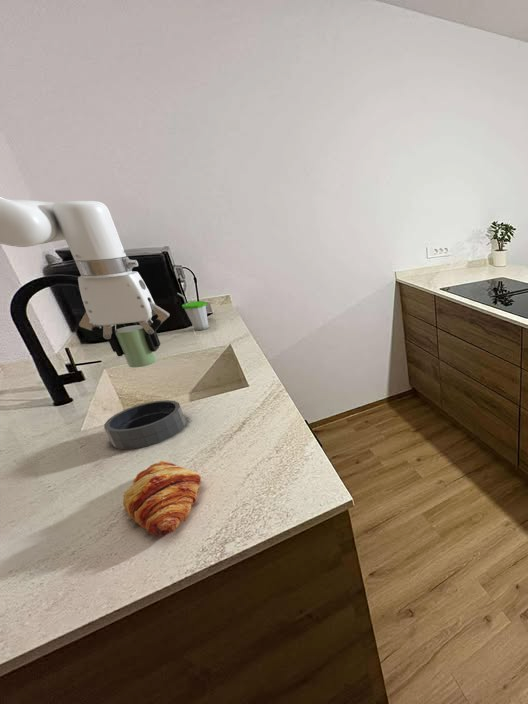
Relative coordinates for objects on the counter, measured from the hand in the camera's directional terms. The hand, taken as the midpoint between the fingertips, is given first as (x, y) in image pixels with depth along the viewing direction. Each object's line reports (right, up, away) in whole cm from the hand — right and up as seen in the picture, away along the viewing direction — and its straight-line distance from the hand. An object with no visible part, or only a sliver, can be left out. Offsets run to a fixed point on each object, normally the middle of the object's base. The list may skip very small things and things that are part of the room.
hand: (138, 351), depth 82 cm
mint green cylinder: (0, -3, +1) cm, 3 cm away
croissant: (+22, -27, -18) cm, 39 cm away
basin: (+2, -18, +1) cm, 19 cm away
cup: (-37, +10, +69) cm, 79 cm away
